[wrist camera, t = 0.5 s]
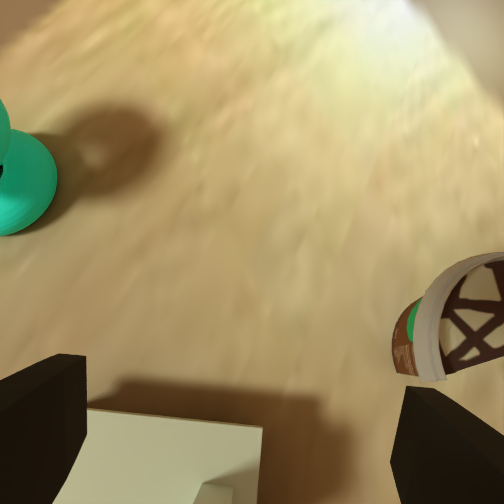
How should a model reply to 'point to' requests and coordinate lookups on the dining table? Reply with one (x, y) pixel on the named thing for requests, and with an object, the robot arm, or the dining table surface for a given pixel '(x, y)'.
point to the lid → (163, 461)
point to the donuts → (23, 177)
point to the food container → (453, 321)
